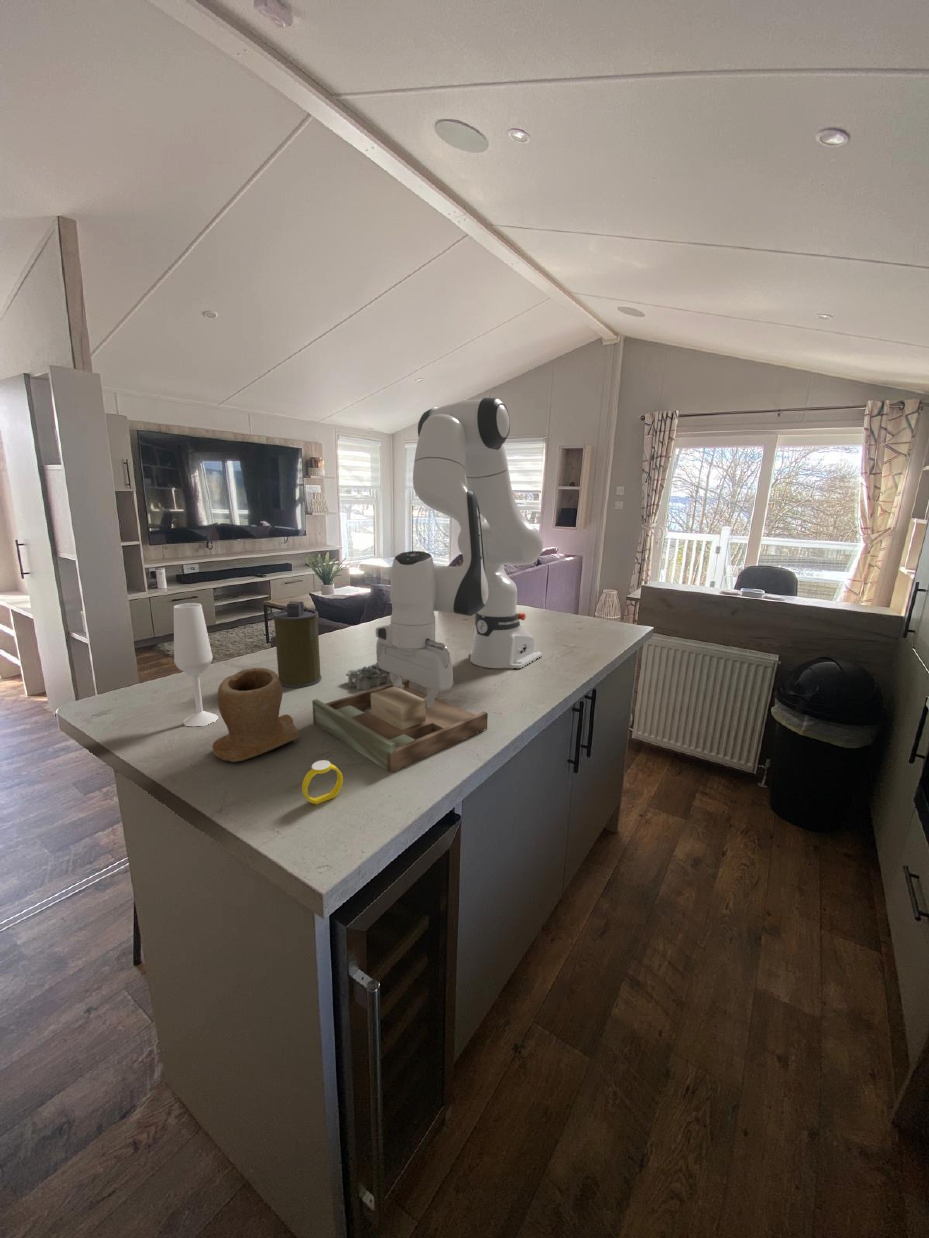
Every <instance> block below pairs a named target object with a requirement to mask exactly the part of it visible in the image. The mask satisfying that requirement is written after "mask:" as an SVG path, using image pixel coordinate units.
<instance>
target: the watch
mask: <svg viewBox="0 0 929 1238" xmlns="http://www.w3.org/2000/svg"><path fill="white" fill-rule="evenodd" d="M330 770H334V771H335V772H336V777H337V779H336V781H335V782H336V783H335V785H334V787H333V788H332V789H331V790H330V792H328V793H325V794H323V795H319V796H317V797H312V796H310V795H309V794H308V790H309V789H308V788H309V785H310V783H311V780H312V778H314V777H315V776H316V775H317V774H319V775H320V774H322V775H323V774H325V773H328V772H329V771H330ZM343 777H344V776H343V773H342V771H341V770H339V768H338V767H337V766H336V765H334V764H332V763H331V761H329V760H327V759H323V760H317V761H315V762H313V764H311V769H310V770H309V771H308V772H307V773H306V774H305V776H304V778H303V780H302V783H301V791H302V794H303V795H304V796H303V797H305V798H306V800H307V801H308V802H309V803H311V804H314V805H318V804H321V803H323V802H327V801H328V800H332V799H334V798H335V797H337V795H338V794H339V793H340V791H341V790H342V786H343V782H344V778H343Z"/></svg>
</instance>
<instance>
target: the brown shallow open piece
mask: <svg viewBox="0 0 929 1238" xmlns="http://www.w3.org/2000/svg"><path fill="white" fill-rule="evenodd" d="M401 682H402V684H403V685H404V691H406V692H409V693H411V694H413V695H416V696H418V697H420V698H425V697H427V694H428V693H425V692H424V691H420V690H418V689H415V688H413V687H412V686H410V684H409V683H410V681H409V680H407V679H403V680H402V679H401ZM390 687H394V685H393V683H392V682H391V683H389V684H387V685H382V686H379V687H376V688H373V689H370V690H369V689H368V690H367V691H363V692H360V693H355V694H353V695H349V696H346V697H343V698H339V699H337V700H336V699H335V700H333V701H330V702H327V703H325V702H323V701H321V700H320V699H317V698H316V699H313V700H312V717H313V718H312V719H313V721H312V722H313V724H314V725H316V726H317V727H318V728H320V729H322V730H323V731H325V732H326V733H328V734H330V735H331V736H332V737H334V738H335V739H337V740H339V741H341V742H343V743H344V744H345V745H346V746H348V747H349V748H352V750H355V751H356V752H358V753H360V754H361V755H363V756H364V757H365V758H368V759H369V760H370V761H371V762H373V763H375V764H376V765H378V766H380V767H381V768H383V769H385V770H386V771H387V772H389V773H393V772H396V771H398V770H400V769H402V768H405V767H407V766H409V765H411V764H413V763H416V762H417V761H420V760H423V759H425V758H427V757H429V756H431V755H433V754H435V753H437V752H440V751H441V750H444V749H446V747H447V748H449V747H451V746H453V745H455V744H457V742H458V743H459V741H460V742H461V740H462V741H464V740H466V739H468V738H467V737H469V736H471V737H473V736H475V735H477V734H478V733H477V732H480V731H482V730H484V729H486V730H488V717H489V716H488V712H486V711H482V712H480V713H477V714H474V713H472V712H470V711H468V710H465V709H463V708H460V707H458V706H455V705H453V704H451V703H448V702H446V701H445V700H441V699H439V698H437V697H435V698H434V706H433V707H431V708H427V707H426V721H424V722H422V723H419V724H417V725H414V726H412V727H409V728H406V729H404V730H400V729H398V728H396V727H394V726H393V725H391V724H389V723H387V722H385V721H383V720H381V719H379V718H377V717H375V716H373V715H372V714H371V710H369V711H366V712H364V711H363V710H366V709H369V708H371V693H374V692H377V691H381V690H384V689H387V688H390ZM484 731H485V730H484ZM482 732H483V731H482ZM476 733H477V734H476ZM480 733H481V732H480ZM474 734H475V735H474ZM472 735H473V736H472ZM465 738H466V739H465ZM469 738H470V737H469ZM463 739H464V740H463ZM448 746H449V747H448Z"/></svg>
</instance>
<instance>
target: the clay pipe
mask: <svg viewBox="0 0 929 1238" xmlns="http://www.w3.org/2000/svg"><path fill="white" fill-rule="evenodd" d="M283 694H284V693H283V686H282V685H281V682H280V680H279V676H278V674H277V673H276V672H275V671H273V670H272V669H269V668H265V667H264V668H262V667H253V668H245V669H242V670H240V671H238V672H236V673H235V674H232V675H229V676H227V677H226V678H224V679H223V680H222V681H221V683H219V686H218V689H217V704H218V705H217V706H218V710H219V714H220V715H221V718H222V721H223V722H224V724H225V725H226V728H227V731H228V734H226V735H224V736H222V737H220V738H218V739H216V740H215V741H214V742H213V743H212V746H211V747H212V751H213V754H214V755H215V756H217V757H218V758H219V759H221V760H223V761H226V762H227V761H228V762H231V763H234V762H235V763H236V762H241V761H245V760H248V759H252V758H254V757H257V756H261V755H263V754H264V753H267V752H270V751H272V750H274V749H276V748H279V747H281V746H284V745H285V744H288V743H290V742H292V741H295V740H297V739H299V737H300V734H299V731H298V729H297V728H296V726H295V724H294V720H293V717H292V716H291V715H290V714H283V715H282V714H281V715H280V709H281V704H282V699H283Z"/></svg>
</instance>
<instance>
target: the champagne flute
mask: <svg viewBox="0 0 929 1238" xmlns="http://www.w3.org/2000/svg"><path fill="white" fill-rule="evenodd" d="M204 615H205V614H204V610H203V605H202V604H201V603H197V602H192V603H191V602H189V603H188V602H186V603H180V604H177V605H174V606H173V652H174V653H173V660H174V662H173V663H174V665H175V666H176V667H177V669H179V670H180V671H182V672H183V673H185V674H186V675H188V676H190V677H192V684H193V693H194V701H195V710H196V712H194V713H193V714H191V715H189V716H188V717H187V718H185V719H184V720H183V721H184V724H185V725H186V726H202V727H205V726H208V724H209V725H211V724H210V723H212V722H214V723H216V722H217V721H218V720H219V718H218V717H219V715H218V714H215V713H212V712H208V711H205V710H204V709H203V699H202V692H201V691H202V690H201V682H200V681H201V680H200V675H202V674H203V673H204V672H205V670H206V669H208V668H209V666H210V665H211V663H212V661H213V652H212V648H211V644H210V639H209V635H208V630H207V625H206V620H205V616H204ZM217 715H218V716H217ZM217 719H218V720H217ZM216 720H217V721H216ZM212 724H213V723H212ZM186 726H185V727H186Z"/></svg>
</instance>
